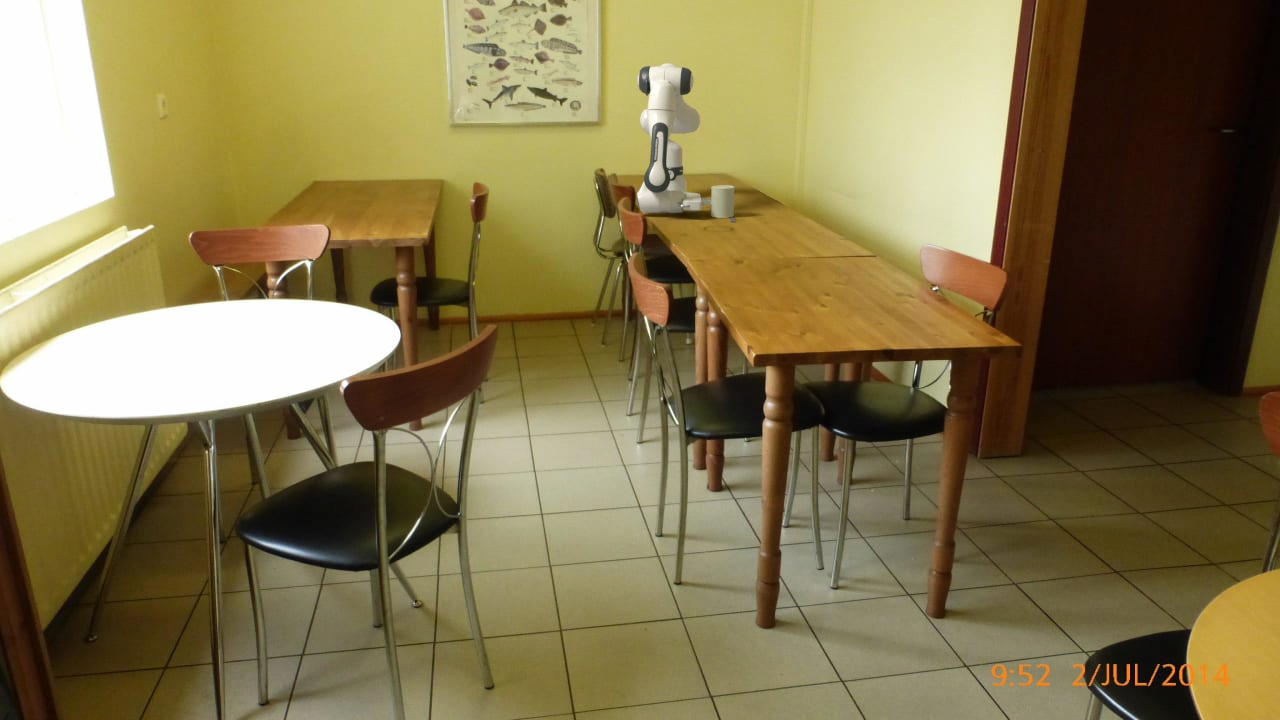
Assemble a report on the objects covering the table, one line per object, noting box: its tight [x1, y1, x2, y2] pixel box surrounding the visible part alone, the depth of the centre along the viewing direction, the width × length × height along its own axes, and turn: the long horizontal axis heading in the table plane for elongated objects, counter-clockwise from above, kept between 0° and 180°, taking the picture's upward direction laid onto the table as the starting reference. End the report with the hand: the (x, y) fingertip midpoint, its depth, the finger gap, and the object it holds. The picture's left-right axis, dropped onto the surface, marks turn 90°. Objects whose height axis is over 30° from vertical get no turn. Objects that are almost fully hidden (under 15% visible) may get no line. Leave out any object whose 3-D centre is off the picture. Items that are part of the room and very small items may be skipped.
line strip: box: [729, 217, 737, 223], centre depth 360 cm, size 8×2×1 cm, turn 179°
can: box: [710, 184, 735, 219], centre depth 367 cm, size 9×9×12 cm
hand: (712, 201), depth 368 cm, fingers closed
